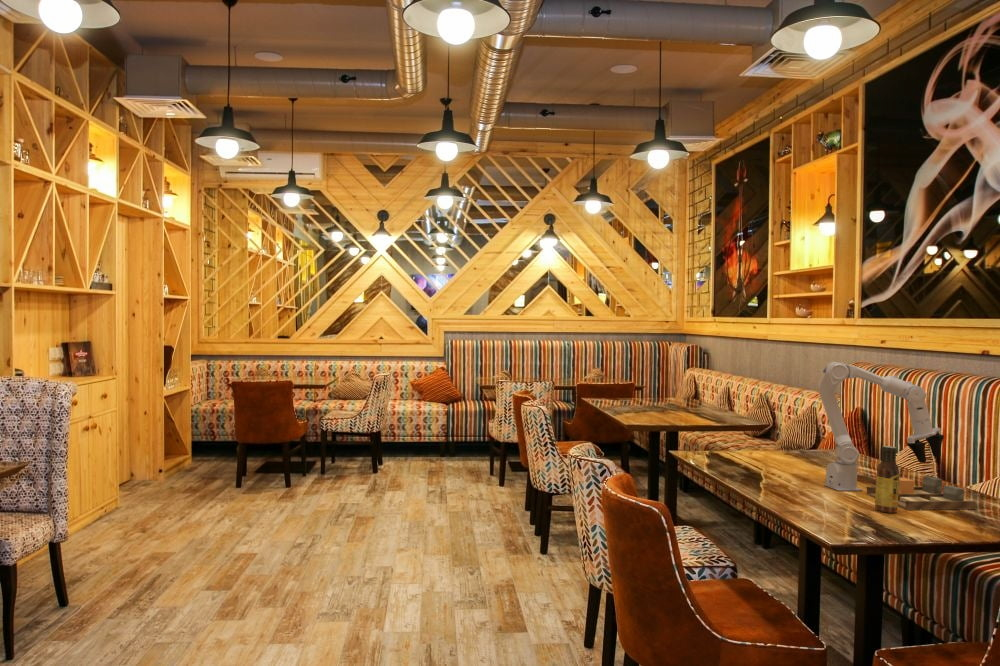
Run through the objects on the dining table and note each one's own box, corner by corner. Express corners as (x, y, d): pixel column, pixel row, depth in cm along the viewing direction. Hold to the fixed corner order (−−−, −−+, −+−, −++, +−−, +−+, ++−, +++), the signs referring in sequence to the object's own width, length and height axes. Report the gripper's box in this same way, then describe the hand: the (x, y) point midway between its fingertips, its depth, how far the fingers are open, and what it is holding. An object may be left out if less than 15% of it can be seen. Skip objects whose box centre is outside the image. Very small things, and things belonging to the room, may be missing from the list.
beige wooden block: (900, 498, 233) (901, 480, 233) (885, 492, 240) (886, 475, 240) (943, 498, 236) (944, 480, 236) (927, 492, 243) (928, 475, 243)
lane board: (907, 510, 222) (908, 491, 222) (866, 494, 240) (867, 477, 240) (975, 509, 226) (976, 491, 226) (929, 494, 245) (930, 477, 244)
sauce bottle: (896, 515, 215) (900, 449, 215) (873, 511, 219) (877, 446, 218) (898, 510, 221) (901, 446, 220) (875, 506, 224) (878, 444, 224)
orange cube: (901, 494, 235) (902, 480, 234) (891, 490, 239) (892, 477, 239) (913, 494, 235) (914, 480, 235) (903, 490, 240) (904, 477, 240)
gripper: (917, 424, 235) (926, 465, 234) (945, 415, 241) (955, 454, 240) (897, 424, 242) (907, 464, 241) (926, 415, 247) (935, 454, 247)
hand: (930, 459), depth 241 cm, fingers open, 7 cm apart
